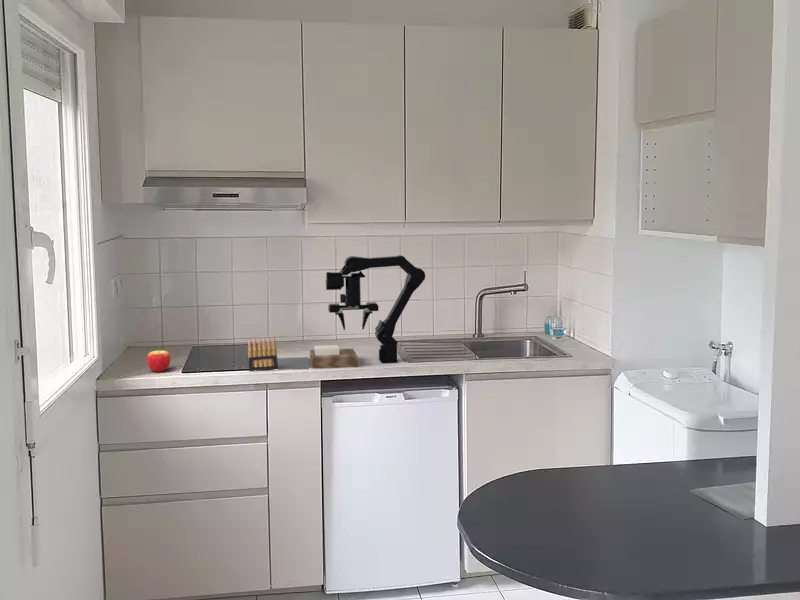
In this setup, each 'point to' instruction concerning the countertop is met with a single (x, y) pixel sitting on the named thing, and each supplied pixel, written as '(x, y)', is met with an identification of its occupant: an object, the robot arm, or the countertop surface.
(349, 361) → the brown flat block
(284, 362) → the mat
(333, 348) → the tile
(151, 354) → the apple
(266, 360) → the ammunition clip
